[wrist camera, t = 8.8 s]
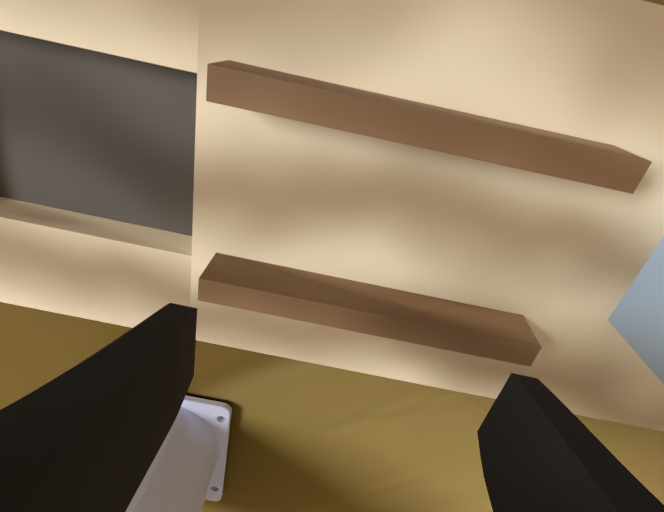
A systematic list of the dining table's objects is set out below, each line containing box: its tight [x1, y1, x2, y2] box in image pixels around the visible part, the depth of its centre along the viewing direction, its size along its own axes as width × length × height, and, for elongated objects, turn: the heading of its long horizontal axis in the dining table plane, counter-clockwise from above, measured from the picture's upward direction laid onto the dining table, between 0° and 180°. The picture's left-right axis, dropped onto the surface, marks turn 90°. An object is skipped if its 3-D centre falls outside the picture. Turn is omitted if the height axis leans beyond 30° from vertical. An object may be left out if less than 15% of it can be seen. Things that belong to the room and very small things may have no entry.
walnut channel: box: [198, 60, 652, 367], centre depth 14 cm, size 8×13×2 cm, turn 79°
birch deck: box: [0, 0, 664, 432], centre depth 16 cm, size 16×36×2 cm, turn 79°
